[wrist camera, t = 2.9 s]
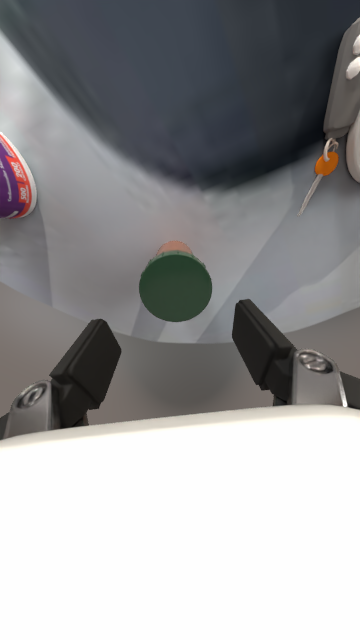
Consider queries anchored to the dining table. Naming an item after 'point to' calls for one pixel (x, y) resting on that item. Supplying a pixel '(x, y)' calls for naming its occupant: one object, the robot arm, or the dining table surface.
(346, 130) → the key chain
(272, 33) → the dining table surface
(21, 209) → the pill bottle
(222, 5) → the dining table surface
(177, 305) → the lid
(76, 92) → the dining table surface
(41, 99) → the dining table surface
